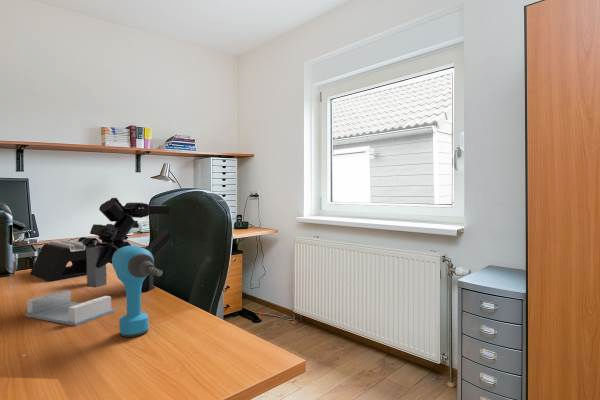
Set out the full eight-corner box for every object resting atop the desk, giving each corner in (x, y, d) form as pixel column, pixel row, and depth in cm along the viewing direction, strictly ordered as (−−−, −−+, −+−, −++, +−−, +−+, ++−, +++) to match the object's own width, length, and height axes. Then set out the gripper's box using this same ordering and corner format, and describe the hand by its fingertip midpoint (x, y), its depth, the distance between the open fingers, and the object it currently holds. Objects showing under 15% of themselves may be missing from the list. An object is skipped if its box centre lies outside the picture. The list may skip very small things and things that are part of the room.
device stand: (83, 266, 180) (82, 237, 180) (104, 272, 167) (103, 241, 166) (30, 275, 162) (29, 243, 161) (49, 282, 149) (48, 247, 148)
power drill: (179, 350, 84) (178, 253, 84) (142, 362, 78) (141, 258, 78) (138, 319, 105) (137, 241, 104) (106, 327, 99) (105, 244, 98)
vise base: (114, 311, 112) (114, 296, 112) (75, 326, 100) (75, 309, 99) (67, 303, 120) (67, 289, 120) (25, 316, 108) (25, 300, 107)
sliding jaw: (70, 302, 118) (70, 290, 118) (32, 313, 107) (32, 300, 107) (65, 301, 119) (65, 289, 119) (27, 312, 108) (27, 299, 108)
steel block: (98, 283, 120) (97, 245, 120) (106, 284, 119) (105, 246, 119) (87, 286, 117) (86, 247, 116) (95, 287, 115) (94, 248, 115)
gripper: (86, 214, 124) (55, 251, 114) (126, 216, 117) (97, 254, 107) (106, 234, 132) (79, 269, 122) (144, 236, 125) (119, 274, 115)
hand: (92, 266), depth 116 cm, fingers closed on steel block, 4 cm apart
